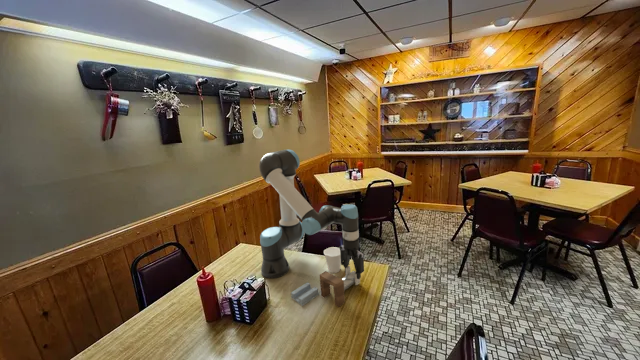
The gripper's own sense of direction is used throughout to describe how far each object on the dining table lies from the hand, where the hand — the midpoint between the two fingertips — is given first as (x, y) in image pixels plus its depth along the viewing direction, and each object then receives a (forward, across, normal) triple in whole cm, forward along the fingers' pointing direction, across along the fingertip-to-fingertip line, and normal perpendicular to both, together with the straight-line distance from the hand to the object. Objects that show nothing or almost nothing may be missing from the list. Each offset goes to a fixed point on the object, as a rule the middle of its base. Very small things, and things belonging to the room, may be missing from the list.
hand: (352, 281), depth 123 cm
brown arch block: (+1, 0, -14) cm, 15 cm away
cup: (+2, -15, +2) cm, 15 cm away
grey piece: (-2, 0, -5) cm, 5 cm away
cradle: (+1, -11, -22) cm, 24 cm away
